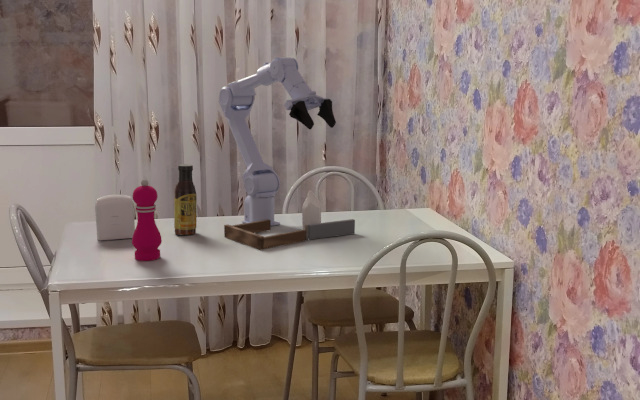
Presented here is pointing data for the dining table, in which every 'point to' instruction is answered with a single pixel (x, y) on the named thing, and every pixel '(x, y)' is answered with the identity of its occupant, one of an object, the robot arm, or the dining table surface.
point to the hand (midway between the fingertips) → (322, 125)
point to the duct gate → (331, 229)
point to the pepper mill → (146, 224)
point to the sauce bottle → (185, 202)
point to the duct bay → (248, 236)
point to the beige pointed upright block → (311, 210)
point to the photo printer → (114, 217)
